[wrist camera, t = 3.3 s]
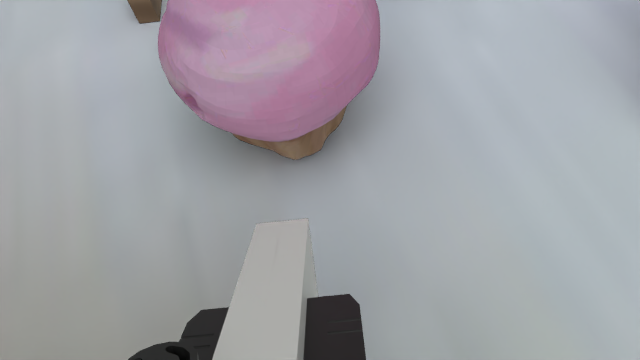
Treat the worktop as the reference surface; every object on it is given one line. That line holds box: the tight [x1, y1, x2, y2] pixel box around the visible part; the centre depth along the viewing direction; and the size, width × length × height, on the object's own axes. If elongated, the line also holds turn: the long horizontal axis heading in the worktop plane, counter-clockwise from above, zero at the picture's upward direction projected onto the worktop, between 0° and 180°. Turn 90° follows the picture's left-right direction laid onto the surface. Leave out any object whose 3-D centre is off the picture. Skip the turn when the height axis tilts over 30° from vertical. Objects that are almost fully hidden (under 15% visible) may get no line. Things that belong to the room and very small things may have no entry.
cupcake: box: [158, 0, 380, 160], centre depth 23 cm, size 9×9×10 cm
